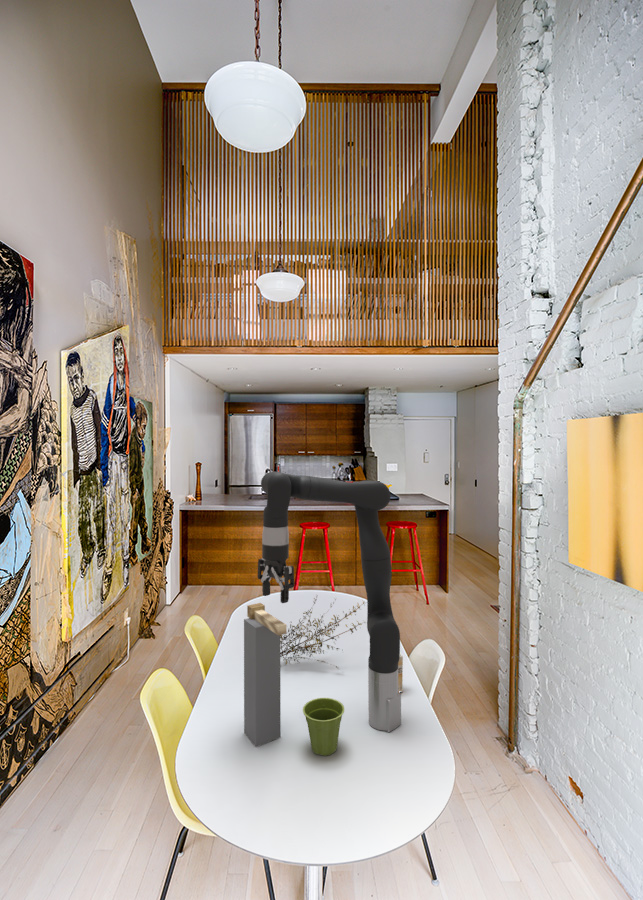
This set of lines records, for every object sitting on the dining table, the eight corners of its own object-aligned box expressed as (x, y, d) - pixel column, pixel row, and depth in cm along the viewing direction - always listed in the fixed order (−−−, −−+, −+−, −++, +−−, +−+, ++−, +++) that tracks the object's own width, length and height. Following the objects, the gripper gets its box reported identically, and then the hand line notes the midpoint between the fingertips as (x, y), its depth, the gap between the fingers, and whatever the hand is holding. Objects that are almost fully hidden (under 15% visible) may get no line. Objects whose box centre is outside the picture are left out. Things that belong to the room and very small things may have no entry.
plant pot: (320, 730, 139) (320, 693, 139) (352, 746, 131) (352, 706, 131) (294, 750, 130) (294, 710, 130) (326, 768, 122) (326, 726, 122)
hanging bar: (289, 632, 127) (289, 620, 127) (275, 636, 125) (275, 623, 125) (260, 613, 142) (260, 602, 142) (247, 616, 140) (247, 605, 140)
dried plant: (251, 634, 167) (363, 583, 168) (264, 611, 198) (359, 568, 199) (284, 714, 164) (398, 662, 165) (293, 679, 195) (389, 635, 196)
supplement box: (381, 696, 158) (381, 658, 158) (375, 689, 162) (375, 652, 162) (403, 693, 160) (403, 655, 160) (397, 686, 164) (397, 650, 164)
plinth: (280, 737, 135) (280, 621, 135) (255, 747, 131) (255, 627, 131) (268, 723, 142) (267, 614, 142) (244, 732, 137) (243, 619, 138)
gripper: (301, 544, 128) (301, 602, 128) (271, 536, 138) (271, 590, 138) (280, 547, 123) (279, 608, 123) (250, 539, 133) (250, 595, 133)
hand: (275, 598), depth 130 cm, fingers open, 8 cm apart
